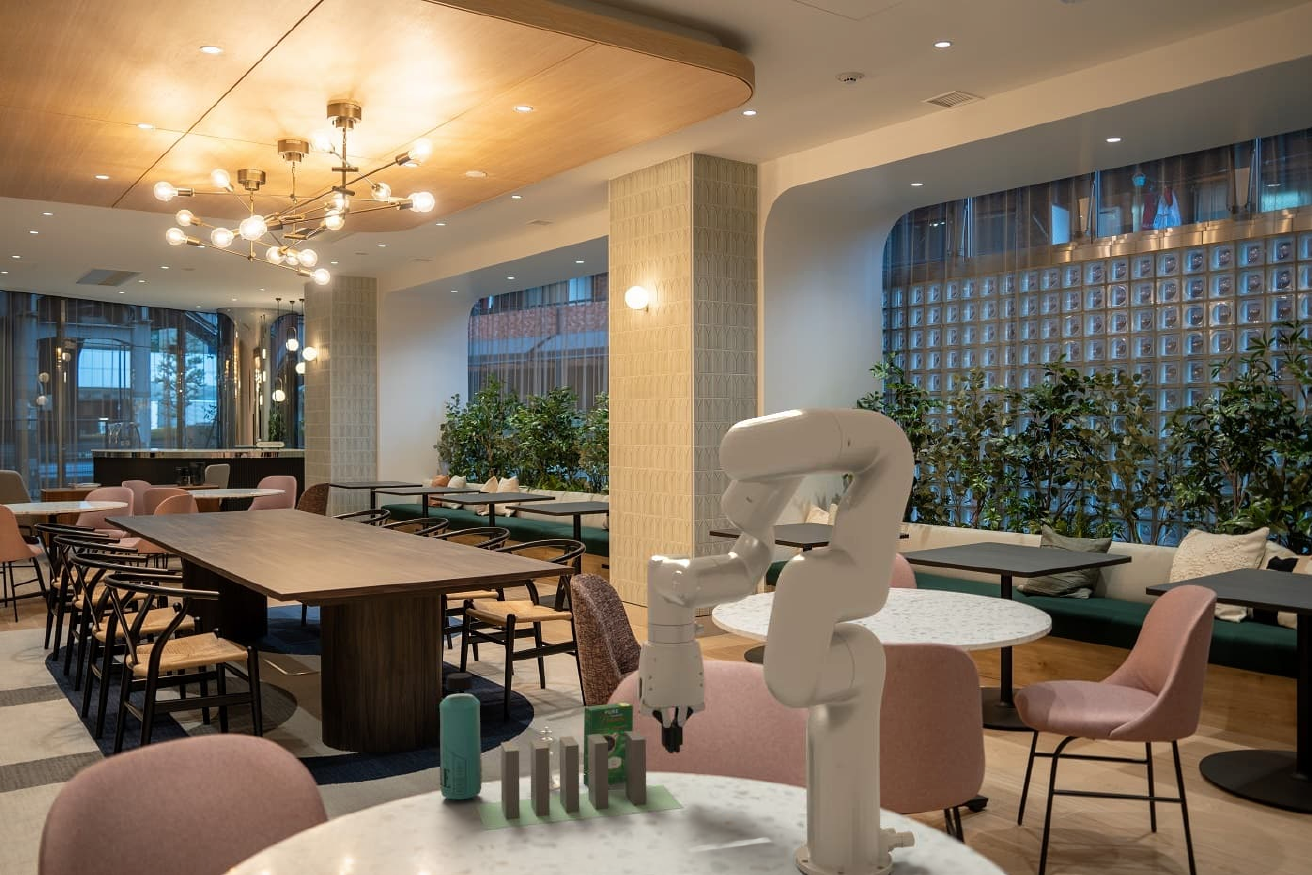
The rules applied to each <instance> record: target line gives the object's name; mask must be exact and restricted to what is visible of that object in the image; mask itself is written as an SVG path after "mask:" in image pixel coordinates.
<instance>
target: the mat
mask: <svg viewBox="0 0 1312 875" xmlns="http://www.w3.org/2000/svg"><path fill="white" fill-rule="evenodd" d="M475 806H476V809H477V812H478V814H479V818H480V821H481V823H482V827H483V830H484V831H486V830H487V831H488V830H496V829H506V828H514V827H515V828H516V827H525V826H533V825H543V824H551V823H560V822H561V823H562V822H568V821H578V820H587V819H596V818H605V817H615V816H624V815H625V816H626V815H633V814H642V813H650V812H660V811H670V810H677V809H684V806H683V805H682V804H681V803H680V801H678V799H677V798H676V797H675V796H674V795H673V794H672V793H671V792H670V791H669V790H668V788H666V786H665V785H663V784H662V785H652V786H651V785H650V786H646V805H639V806H633V804H632V803H631V802H630V800H629V799H628V798H627V796H626V788H621V789H615V790H608V806H609V809H601V810H595V808H594V807H593V805H592V804H591V802H590V801H589V795H588V792H585V793H584V792H582V793H579V812H574V813H566V812H565V810H564V809H563V807H562V805H561V803H560V795H555V796H550V815H546V816H537V817H536V815H535V813H534V811H533V809H532V806H531V798H525V799H519V808H520V818H518V819H509V820H506V818H505V816H504V813H503V811H502V804H501V801H497V802H487V803H479V804H477V803H476V805H475Z"/></svg>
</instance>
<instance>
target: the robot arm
mask: <svg viewBox="0 0 1312 875" xmlns="http://www.w3.org/2000/svg"><path fill="white" fill-rule="evenodd" d="M718 452H719V453H718V457H719V458H718V461H719V463H720V468H721V470H722V472H724V474H725V475H726V476H727V477H728V478H729V479H730V480H731V481H730V483H729V485H728V487H727V488H726V490H725V492H724V493H723V494H722V497H721V501H720V507H721V510H722V513H723V515H724V517H726V519H727V520H728V521H729V522H730V523H731V524H732V525H733V526H734V527H735V528H737V529H738V530H740V531H741V533H740V535H739V537H738V539H737V541H736V542H735V544H734V545H733V546H732V548H731V549H730V551H729V552H728V553H727V554H717V555H716V554H715V555H707V556H706V555H705V556H700V557H691V556H690V555H687V554H682V553H660V554H655V555H653V556H651V557H649V559H648V561H647V565H646V588H647V589H646V592H647V593H646V600H647V603H646V605H647V606H646V607H647V608H646V609H647V618H646V619H647V620H646V621H647V623H646V624H647V640H644V641H642V643H641V649H640V652H639V653H640V654H639V661H638V672H637V673H638V674H637V687H636V688H637V689H636V690H637V699H638V701H639V704H638V709H637V711H638V712H637V713H639V714H640V716H645V717H650V718H654V719H656V721H657V722H658V723H660V725H661V745H662V747H663V748H664V749H665V750H666V752H668V753H669V754H674V753H676V754H677V753H680V752H681V746H683V743H684V742H683V739H684V738H683V737H684V735H683V734H684V733H683V732H684V731H683V727H685V725H686V722H687V721H688V720H689V719H690V717H691V716H693V715H694V714H697V713H700V712H702V711H705V710H706V703H705V699H706V680H705V669H704V661H703V653H702V648H701V644H700V641H699V640H698V639H697V636H698V635H699V634H700V633H701V634H702V633H704V632H705V626H704V624H699V623H697V621H696V609H702V608H709V607H712V606H720V605H726V604H734V603H738V602H739V603H740V602H741V601H743V600H745V599H746V598H748V597H749V596H750V595H752V593H753V592H754V591H755V590H756V589H757V587H758V586H759V584H760V583H761V582H762V580H763V579H764V577H765V576H766V574H767V573H768V570H769V569H770V567H771V566H772V563H773V560H774V557H775V550H776V549H775V548H776V538H775V531H774V526H775V524H776V523H777V522H778V520H779V518H780V517H781V515H782V514H783V512H784V511H785V509H786V507H787V506H788V504H789V503H790V501H791V500H792V499H793V496H794V495H795V493H796V492H797V490H798V489H799V488H800V486H801V484H802V483H803V481H804V480H805V478H806V477H807V476H814V475H815V476H819V475H840V474H841V475H843V474H850V475H851V476H852V481H851V483H850V484H849V486H848V487H847V489H845V492H844V493H843V494H842V497H841V499H840V500H839V502H838V504H837V508H836V511H835V515H834V519H833V520H834V522H833V527H832V530H831V531H832V532H831V535H830V539H829V542H828V544H827V546H826V547H824V548H818V549H811V550H806V551H802V552H800V553H798V554H796V555H795V556H793V557H792V558H791V559H790V560H788V562H787V563H786V564H785V565H784V566H783V568H782V569H781V571H780V573H779V575H778V576H779V577H778V578H777V580H776V584H775V589H774V594H773V599H772V605H771V610H770V611H771V612H770V617H769V620H768V621H769V622H768V628H767V634H766V638H765V639H766V640H765V645H764V651H763V661H762V664H763V665H762V667H763V670H762V671H763V678H764V681H765V685H766V687H767V690H768V692H769V694H770V695H771V697H772V698H773V699H774V700H775V701H776V702H778V704H781V705H782V706H784V707H787V708H789V709H796V710H797V709H799V710H800V709H807V708H809V712H808V715H807V716H808V717H807V722H806V729H805V730H806V733H805V735H806V736H805V739H806V740H805V758H806V759H805V764H806V765H805V767H806V768H805V769H806V771H805V772H806V773H805V774H806V777H805V778H806V782H805V783H806V843H804V844H803V845H801V846H800V847H798V849H797V850H796V851H795V857H794V858H795V865H796V866H797V868H798V869H799V870H800V871H802V873H804V874H806V875H889V874H891V873H892V871H893V868H894V864H893V863H894V860H893V857H892V855H891V854H890V853H889V852H893V851H894V849H896V848H903V849H904V848H911V847H913V846H915V842H916V840H915V835H914V833H913V832H912V831H911V830H908V831H899V832H896V829H895V828H894V827H888V828H881V787H880V786H881V785H880V784H881V782H880V780H881V779H880V778H881V777H880V774H881V773H880V767H881V766H880V748H881V747H880V745H881V744H880V722H881V721H880V720H881V717H880V716H881V704H882V697H883V691H884V686H885V680H886V674H887V673H886V672H887V659H886V658H887V657H886V653H885V650H884V646H883V644H882V642H881V640H880V639H879V637H878V636H877V635H876V634H875V633H874V632H873V631H872V630H870V629H869V628H867V627H866V626H865V625H861V624H857V623H854V622H853V621H857V620H862V619H866V618H870V617H872V616H875V615H876V614H879V612H881V610H882V609H883V608H884V607H885V605H886V603H887V600H888V597H889V593H890V589H891V585H892V580H893V579H892V578H893V574H894V568H895V563H896V558H897V553H898V547H899V545H900V544H899V543H900V537H901V529H902V525H903V520H904V516H905V512H906V508H907V505H908V502H909V497H910V494H911V491H912V487H913V486H912V485H913V483H914V476H915V457H914V452H913V448H912V445H911V442H910V440H909V437H908V436H907V434H906V433H905V431H904V430H903V428H902V427H901V426H900V425H899V424H898V423H897V422H896V421H895V420H893V419H892V418H891V417H889V416H887V415H885V414H883V413H880V412H877V411H874V410H869V409H863V408H848V407H847V408H827V407H825V408H823V407H806V408H805V407H804V408H798V409H792V410H787V411H781V412H778V413H773V414H769V415H764V416H760V417H755V418H750V419H745V420H742V421H740V422H739V421H738V422H737V423H736V424H734V425H732V426H731V427H730V428H729V430H728V431H727V432H726V433H725V434H724V436H723V438H722V440H721V443H720V446H719V450H718ZM852 622H853V623H852ZM671 708H674V710H673V714H672V715H673V716H672V721H671V715H670V709H671Z"/></svg>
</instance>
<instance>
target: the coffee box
mask: <svg viewBox="0 0 1312 875" xmlns="http://www.w3.org/2000/svg"><path fill="white" fill-rule="evenodd" d="M583 709H584V711H583V712H584V714H583V716H584V717H583V718H584V724H583V774H585V775H583V785H585V786H586V787H588V735H593V734H601V735H602V736H603V737H604V738H605V740H606V741H607V742H608V786H609V785H614V784H620V783H624V782H625V783H626V761H625V732H627V731H634V705H633V704H631V703H629V702H626V701H623V702H616V703H609V704H600V705H590V706H589V705H588V706H584V708H583Z"/></svg>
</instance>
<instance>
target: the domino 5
mask: <svg viewBox="0 0 1312 875" xmlns="http://www.w3.org/2000/svg"><path fill="white" fill-rule="evenodd" d="M646 743H647V741H646V738H645V736H643V734H642V733H640V732H639V730H633V731H627V732H625V761H626V782H625V789H626V796H627V798H628V799H629V800H630V802H631V803H632V804H633V806H639V805H646V787H647V753H646V752H647V744H646Z"/></svg>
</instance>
